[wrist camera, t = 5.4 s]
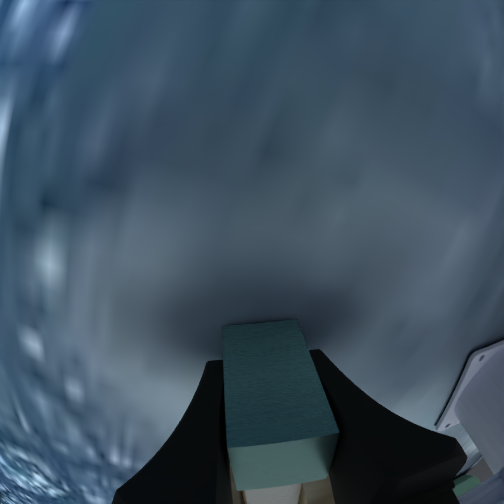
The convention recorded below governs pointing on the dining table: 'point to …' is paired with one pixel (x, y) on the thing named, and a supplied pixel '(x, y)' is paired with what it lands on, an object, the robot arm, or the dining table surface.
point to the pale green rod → (465, 484)
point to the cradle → (311, 493)
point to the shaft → (274, 412)
